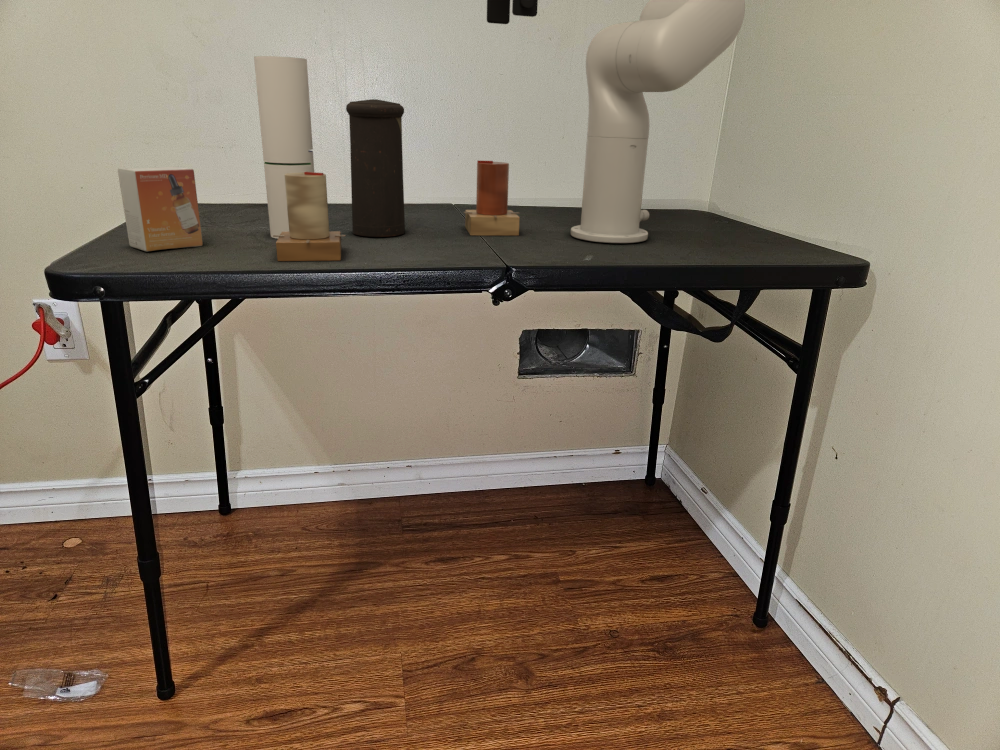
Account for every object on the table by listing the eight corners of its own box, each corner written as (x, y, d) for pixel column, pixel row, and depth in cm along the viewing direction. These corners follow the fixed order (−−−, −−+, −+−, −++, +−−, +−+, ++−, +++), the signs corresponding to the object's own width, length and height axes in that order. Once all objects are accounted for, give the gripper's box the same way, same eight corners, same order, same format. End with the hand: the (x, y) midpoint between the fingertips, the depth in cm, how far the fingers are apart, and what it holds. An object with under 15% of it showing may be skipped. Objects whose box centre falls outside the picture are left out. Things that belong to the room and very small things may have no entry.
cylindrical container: (324, 232, 108) (313, 60, 99) (308, 240, 102) (295, 56, 93) (281, 230, 109) (266, 59, 100) (262, 238, 102) (245, 55, 93)
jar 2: (505, 210, 116) (506, 160, 113) (509, 215, 111) (511, 162, 108) (474, 210, 115) (475, 159, 112) (477, 215, 110) (478, 161, 107)
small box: (145, 253, 90) (132, 170, 86) (128, 246, 94) (115, 167, 90) (204, 246, 96) (194, 168, 92) (186, 240, 99) (176, 165, 95)
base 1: (278, 248, 96) (276, 229, 95) (346, 247, 98) (345, 229, 97) (271, 262, 87) (269, 241, 86) (346, 261, 89) (345, 241, 88)
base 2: (460, 226, 118) (460, 208, 117) (514, 226, 119) (514, 208, 118) (466, 236, 109) (466, 216, 108) (523, 236, 111) (524, 216, 110)
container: (416, 232, 111) (415, 100, 104) (386, 240, 104) (381, 99, 97) (372, 227, 115) (368, 99, 107) (339, 234, 107) (332, 97, 100)
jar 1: (281, 237, 90) (275, 172, 87) (303, 231, 95) (298, 169, 91) (316, 240, 88) (311, 174, 85) (336, 234, 93) (333, 171, 90)
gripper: (573, -154, 78) (564, 14, 84) (518, -113, 93) (513, 27, 99) (512, -165, 75) (507, 10, 81) (465, -121, 90) (464, 24, 96)
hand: (510, 19), depth 90 cm, fingers open, 9 cm apart
